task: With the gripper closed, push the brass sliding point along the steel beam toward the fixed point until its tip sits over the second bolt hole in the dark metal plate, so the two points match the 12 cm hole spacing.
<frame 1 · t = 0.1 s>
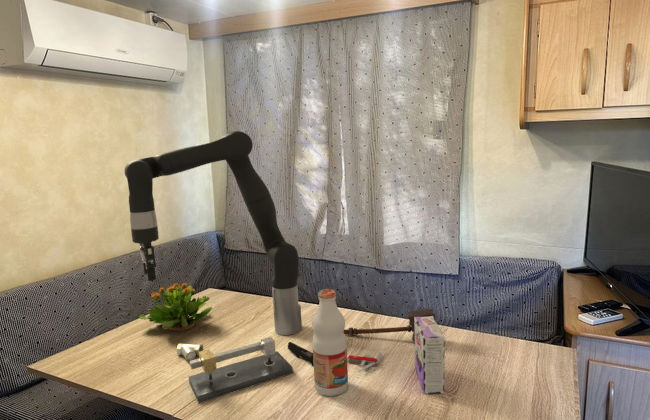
hand: (150, 276, 135), 29 cm above the table, tool pointing down, fingers open, 8 cm apart
candy box: (429, 381, 123), on the table
steel beam: (269, 369, 133), resting on bolt hole plate
fruit juice: (331, 388, 122), on the table
hammer: (389, 340, 150), on the table
swiss army knife: (359, 364, 135), on the table
electric trimmer: (303, 358, 140), on the table
sliding point: (207, 364, 126), point 6 cm above the table, slide at 18.0 cm
bolt hole plate: (241, 377, 129), on the table
pipe fitting: (188, 357, 144), on the table
potted flower: (184, 326, 169), on the table
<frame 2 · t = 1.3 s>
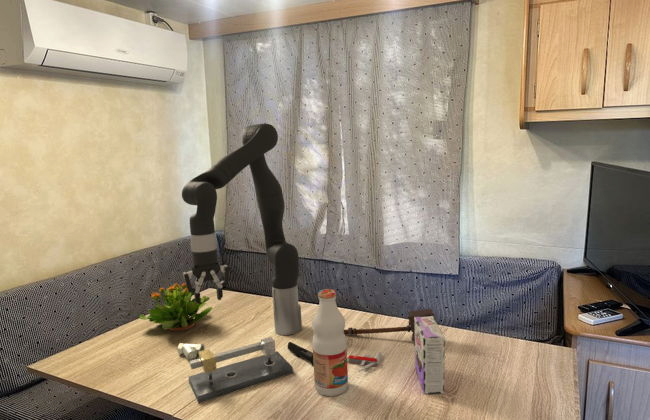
hand: (209, 301, 133), 21 cm above the table, tool pointing down, fingers open, 5 cm apart
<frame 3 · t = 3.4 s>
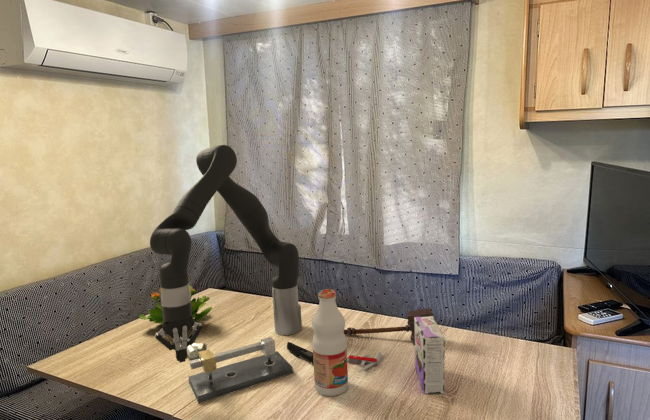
hand: (181, 360, 120), 10 cm above the table, tool pointing down, fingers closed
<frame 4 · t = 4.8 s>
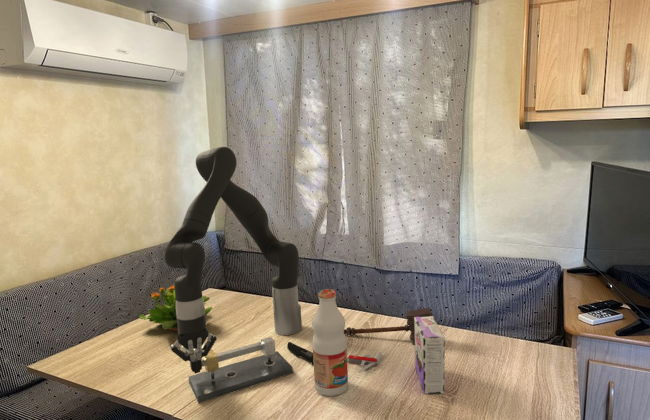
hand: (196, 371, 123), 6 cm above the table, tool pointing down, fingers closed
sliding point: (210, 364, 126), point 6 cm above the table, slide at 17.3 cm, touching gripper
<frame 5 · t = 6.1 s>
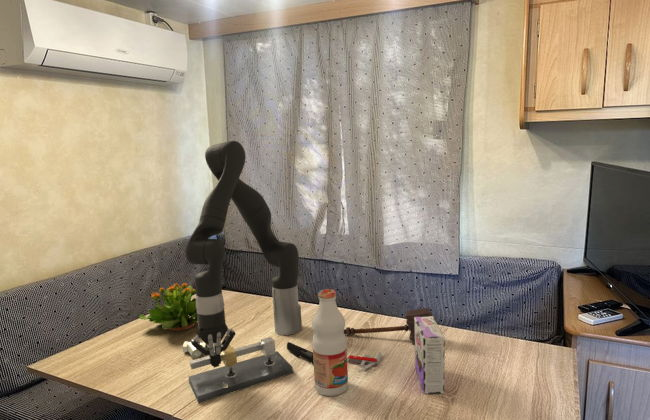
hand: (215, 365, 125), 6 cm above the table, tool pointing down, fingers closed
sliding point: (228, 358, 129), point 6 cm above the table, slide at 12.0 cm, touching gripper
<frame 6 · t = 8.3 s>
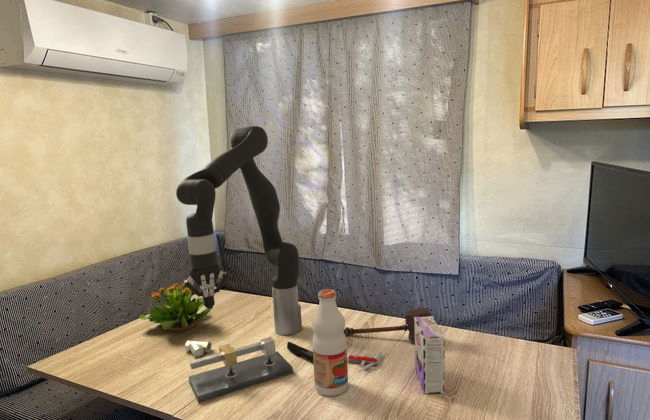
hand: (209, 307, 126), 22 cm above the table, tool pointing down, fingers closed
sliding point: (228, 358, 129), point 6 cm above the table, slide at 12.0 cm
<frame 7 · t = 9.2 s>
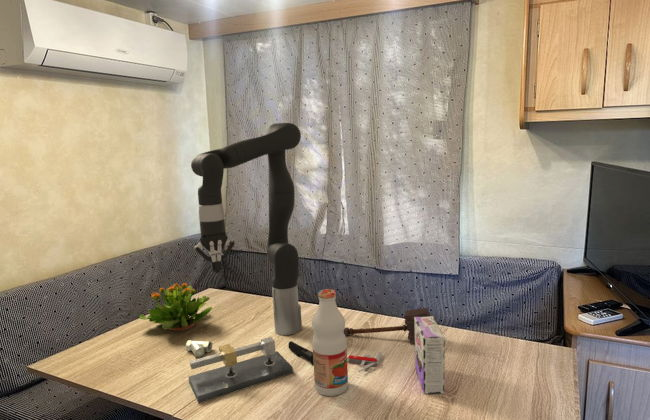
hand: (216, 272, 137), 29 cm above the table, tool pointing down, fingers closed
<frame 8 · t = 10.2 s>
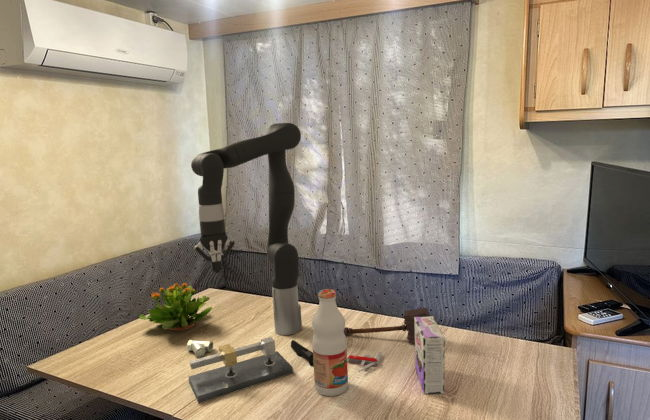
hand: (216, 272, 137), 29 cm above the table, tool pointing down, fingers closed
at the end: sliding point slide at 12.0 cm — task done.
